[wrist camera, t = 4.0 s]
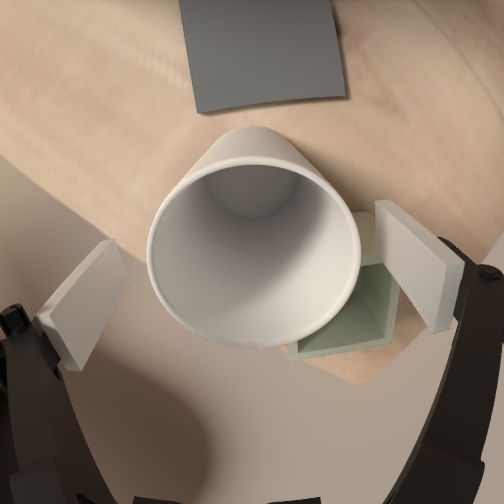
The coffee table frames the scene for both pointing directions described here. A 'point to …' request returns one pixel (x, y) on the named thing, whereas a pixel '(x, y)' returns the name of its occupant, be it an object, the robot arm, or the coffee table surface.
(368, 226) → the planter
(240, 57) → the coaster
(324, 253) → the cup
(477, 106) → the coffee table surface
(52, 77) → the coffee table surface
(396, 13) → the coffee table surface
